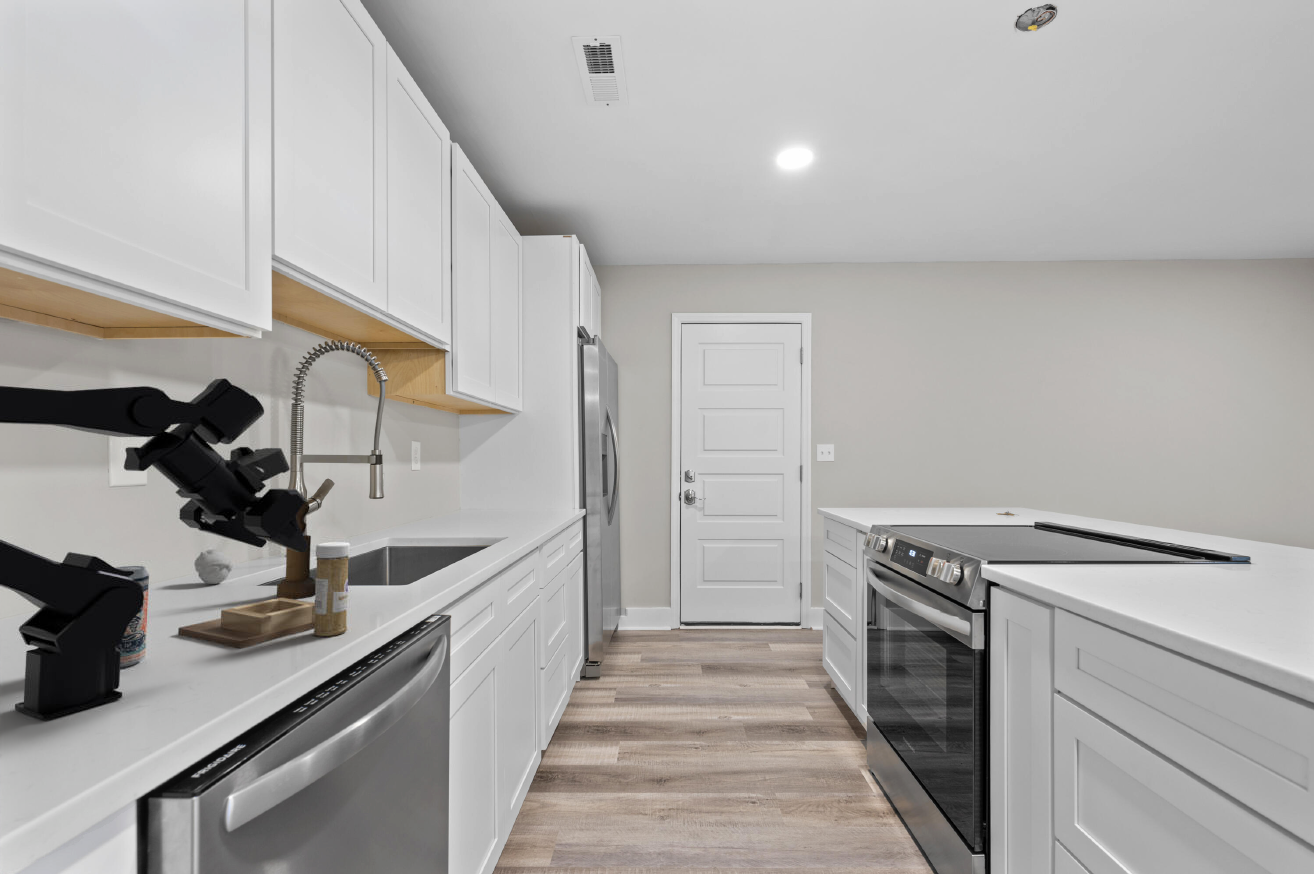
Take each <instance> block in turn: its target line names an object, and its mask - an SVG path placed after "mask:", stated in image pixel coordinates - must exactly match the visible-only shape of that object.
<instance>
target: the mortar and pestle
mask: <svg viewBox="0 0 1314 874" xmlns="http://www.w3.org/2000/svg"><path fill="white" fill-rule="evenodd" d="M309 511H310V503H308V501H307V500H306V502H305V503H304V505H303V506H302V508H301V509H300V511H299V512H298V513H297V521H298V524H299V526H300V529H301V531H302V533H303V535H304V538H305V540H306V542H307V544H308V549H307V550H306V551H305V552H304V553H300V552H298V551H295V550H292V549H289V548H286V561H285V562H286V563H285V564H286V565H285V579H283V580H281V581H280V582H279V583H278V584H277V586H276V599H277V598H287V599H294V600H299V599H306V598H310V597H313V596H314V597H315V587H316V579H314V577H310V576H311V575H310V574H311V545H312V544H311V542H312V541H311V540H312V536H311V535H308V534H307V535H306V534H304V533H305V532H306V528H307V523H305V517H306V515H307V514H308V512H309Z"/></svg>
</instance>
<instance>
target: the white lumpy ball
mask: <svg viewBox="0 0 1314 874" xmlns="http://www.w3.org/2000/svg"><path fill="white" fill-rule="evenodd" d="M232 568H233V563H232V561H231V559H230V557H229V556H227V554H225V553H222V552H221V550H219V549H215V548H212V549H207V550H205V551H201V552H200V554H199V555H198V556H197V557H196V559H195V560H194V569H195V571H196V572H197V573H198V577H199V578H200V580H201V581H202V582H203V583H205V584H207V585H218V584H220V583H223V582H224V581H225V580H227V578H228V577H229V574H230V572H232Z"/></svg>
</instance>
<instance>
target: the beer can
mask: <svg viewBox="0 0 1314 874" xmlns="http://www.w3.org/2000/svg"><path fill="white" fill-rule="evenodd" d="M115 568H117V569H123V570H129V571H133V572H134V574H133V575H131V576H129V578H132V579H134V580H135V581H137V582H138V583H140V584H141V586H142V587H143V594H144V601H143V605H142V607H141V609H140V611H139V613H138V614H137V615H136V616H135V617H134V618H133V619H132V620H131V621H130V623H129V625H128V627H127V629H126V632H125V634H124V636H123V638H122V640H121V643H120V644H119V645H117V646H116V650H118V651H120V652H121V662H120V669H122V668H123V669H124V668H127V667H133V666H134V665H136V664H138V663H140V661H142V660H144V659H145V658H146V651H147V647H146V646H147V628H148V627H147V626H148V608H149V607H148V604H149V602H148V601H149V586H150V585H149V583H150V581H149V580H150V573H149V572H148V571H147V569H146V567H145V566H143V565H128V566H117V567H115Z"/></svg>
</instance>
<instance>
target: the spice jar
mask: <svg viewBox="0 0 1314 874" xmlns="http://www.w3.org/2000/svg"><path fill="white" fill-rule="evenodd" d="M350 554H351V544H350V542H347V541H330V542H321V543H317V544H316V546H315V557H316V573H315V574H316V575H315V576H316V577H315V581H316V587H315V595H314V603H315V628H314V630H313V635H315V636H318V637H335V636H337V635H340V634H344V633H345V632H347V630H348V626H347V623H348V622H347V620H348V619H347V618H348V617H347V616H348V615H347V613H348V612H347V611H348V600H349V599H348V595H349V592H348V590H349V589H348V588H349V577H348V576H349V557H350Z"/></svg>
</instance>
